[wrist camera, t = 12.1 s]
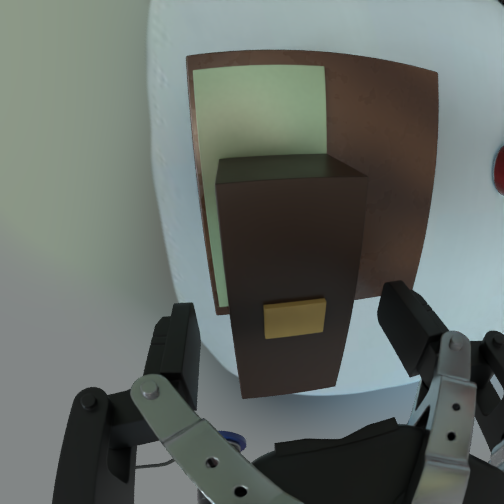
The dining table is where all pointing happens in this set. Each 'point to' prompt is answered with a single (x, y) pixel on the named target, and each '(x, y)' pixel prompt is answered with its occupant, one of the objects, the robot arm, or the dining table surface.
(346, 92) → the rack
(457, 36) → the dining table surface
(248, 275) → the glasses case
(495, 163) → the soda can
